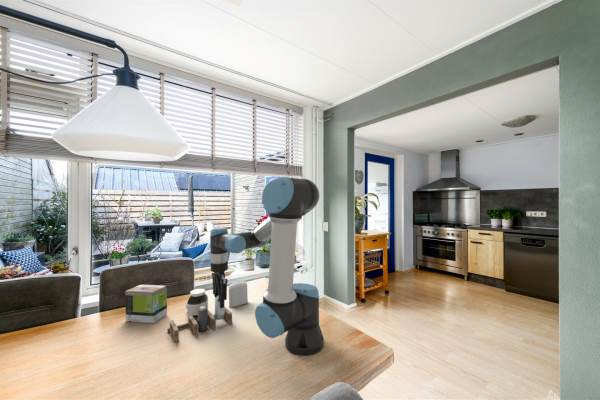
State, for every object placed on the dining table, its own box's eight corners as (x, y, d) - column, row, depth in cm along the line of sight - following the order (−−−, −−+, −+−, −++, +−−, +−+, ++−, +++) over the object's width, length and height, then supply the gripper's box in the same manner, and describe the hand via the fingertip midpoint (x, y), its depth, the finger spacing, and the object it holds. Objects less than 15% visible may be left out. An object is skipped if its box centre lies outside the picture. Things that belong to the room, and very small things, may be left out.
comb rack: (233, 323, 115) (233, 312, 115) (172, 343, 99) (172, 331, 99) (224, 314, 123) (224, 304, 123) (167, 332, 108) (167, 320, 108)
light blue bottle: (225, 318, 114) (225, 296, 114) (216, 320, 111) (216, 298, 111) (222, 314, 117) (222, 293, 117) (213, 317, 114) (213, 295, 114)
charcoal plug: (209, 330, 109) (208, 307, 109) (199, 333, 107) (199, 310, 106) (206, 326, 112) (206, 304, 112) (197, 329, 110) (196, 307, 110)
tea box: (167, 314, 125) (167, 284, 125) (152, 324, 115) (152, 292, 115) (141, 312, 127) (141, 283, 127) (124, 322, 118) (124, 290, 117)
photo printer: (230, 308, 130) (230, 285, 130) (227, 305, 134) (227, 282, 134) (248, 303, 137) (248, 281, 137) (245, 300, 140) (245, 279, 140)
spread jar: (199, 320, 119) (198, 295, 119) (177, 318, 121) (177, 294, 120) (212, 308, 130) (212, 286, 130) (192, 307, 132) (192, 285, 132)
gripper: (234, 264, 109) (234, 317, 110) (220, 256, 122) (221, 304, 123) (217, 267, 105) (218, 322, 105) (205, 259, 118) (205, 308, 118)
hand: (219, 312), depth 114 cm, fingers closed on light blue bottle, 3 cm apart
